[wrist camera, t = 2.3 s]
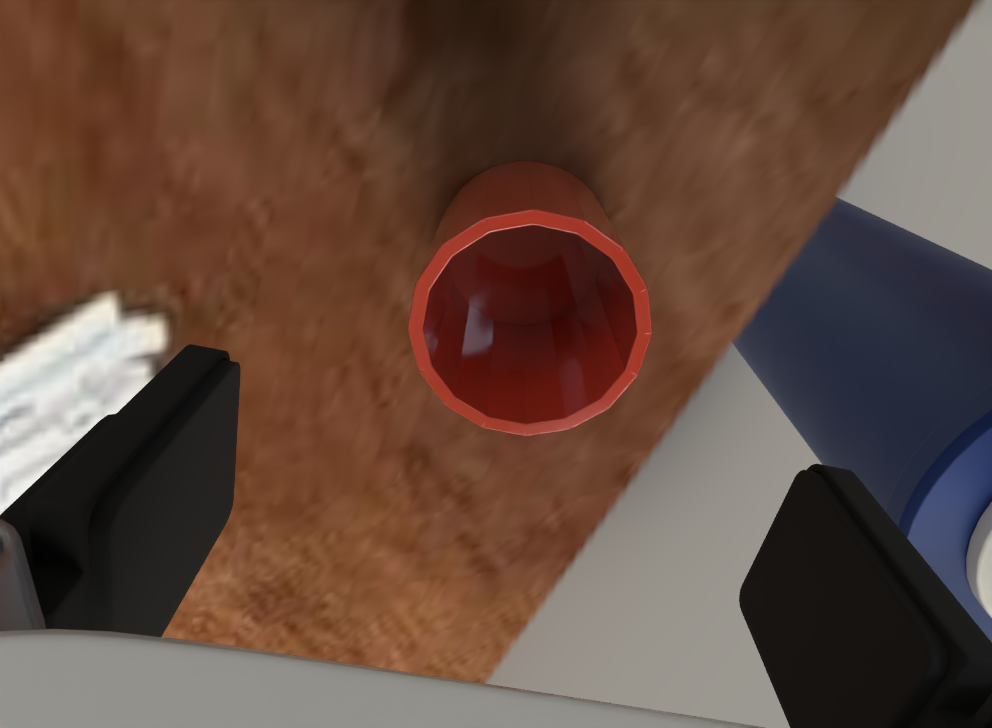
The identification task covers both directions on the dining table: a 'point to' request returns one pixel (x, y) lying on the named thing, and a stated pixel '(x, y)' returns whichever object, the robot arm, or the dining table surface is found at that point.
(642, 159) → the dining table surface
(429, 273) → the cup
